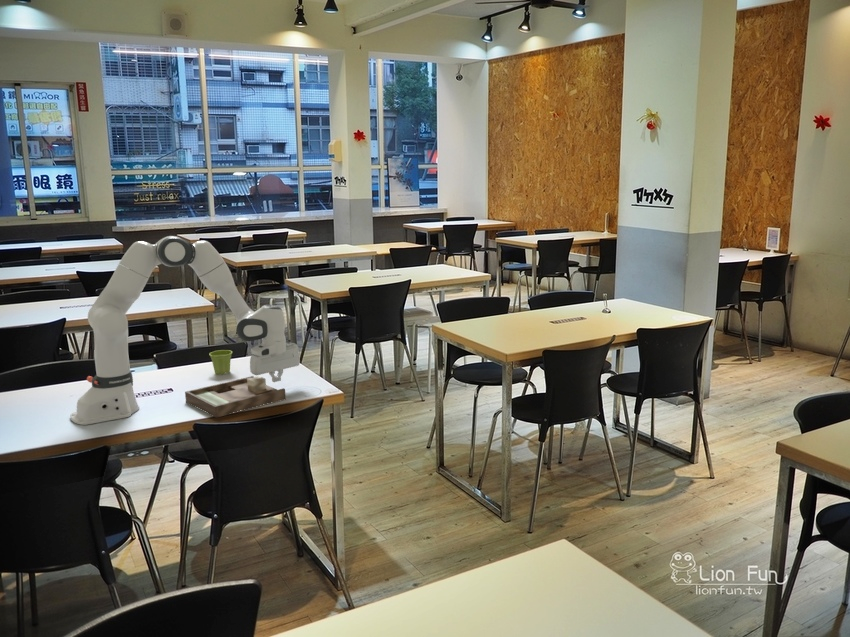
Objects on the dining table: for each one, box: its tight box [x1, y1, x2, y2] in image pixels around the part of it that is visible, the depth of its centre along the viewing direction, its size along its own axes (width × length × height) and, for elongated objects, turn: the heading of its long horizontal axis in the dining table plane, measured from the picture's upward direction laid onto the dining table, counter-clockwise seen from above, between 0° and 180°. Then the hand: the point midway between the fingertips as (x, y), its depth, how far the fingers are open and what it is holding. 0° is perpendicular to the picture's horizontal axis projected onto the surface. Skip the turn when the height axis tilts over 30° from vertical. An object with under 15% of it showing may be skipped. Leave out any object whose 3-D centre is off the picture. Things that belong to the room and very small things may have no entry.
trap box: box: [184, 375, 286, 418], centre depth 269 cm, size 28×24×4 cm
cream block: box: [247, 375, 267, 392], centre depth 275 cm, size 5×5×4 cm
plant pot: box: [209, 349, 233, 375], centre depth 306 cm, size 9×9×9 cm
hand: (276, 381), depth 281 cm, fingers closed
